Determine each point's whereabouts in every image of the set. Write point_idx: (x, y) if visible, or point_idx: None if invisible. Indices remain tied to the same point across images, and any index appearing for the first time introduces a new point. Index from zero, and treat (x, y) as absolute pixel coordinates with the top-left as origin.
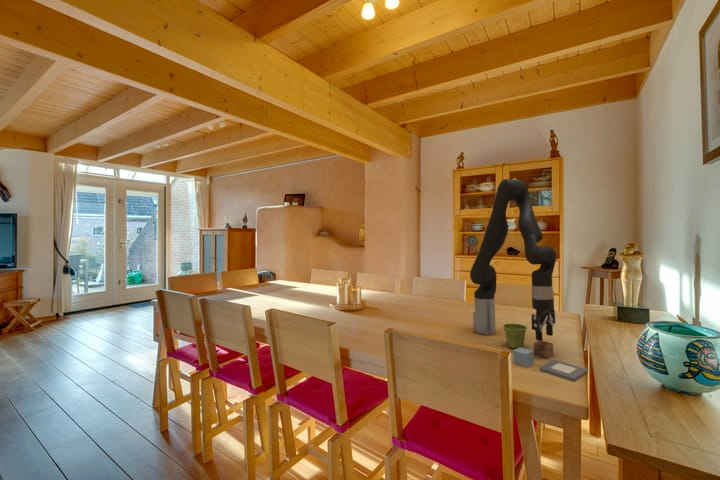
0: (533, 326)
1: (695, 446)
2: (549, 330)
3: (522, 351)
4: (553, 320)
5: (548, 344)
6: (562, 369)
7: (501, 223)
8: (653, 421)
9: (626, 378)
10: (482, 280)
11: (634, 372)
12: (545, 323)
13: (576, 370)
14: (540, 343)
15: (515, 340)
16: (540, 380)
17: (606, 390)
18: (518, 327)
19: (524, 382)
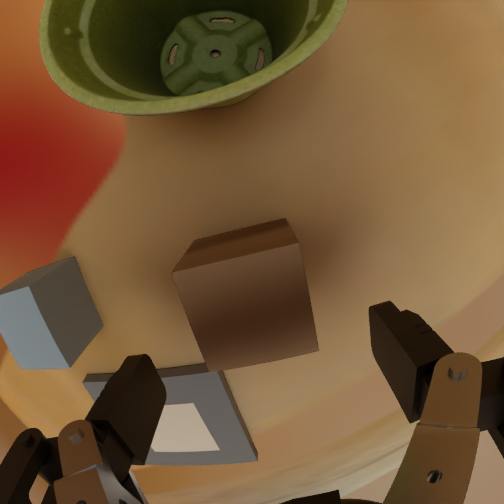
0: (24, 464)
1: None
2: (390, 368)
3: (15, 337)
4: (499, 444)
5: (261, 354)
6: (156, 433)
7: None
8: None
9: (313, 486)
10: None
11: (376, 471)
12: (428, 394)
13: (205, 453)
14: (220, 311)
15: (142, 85)
16: (54, 405)
17: (189, 493)
18: None
19: (12, 382)
